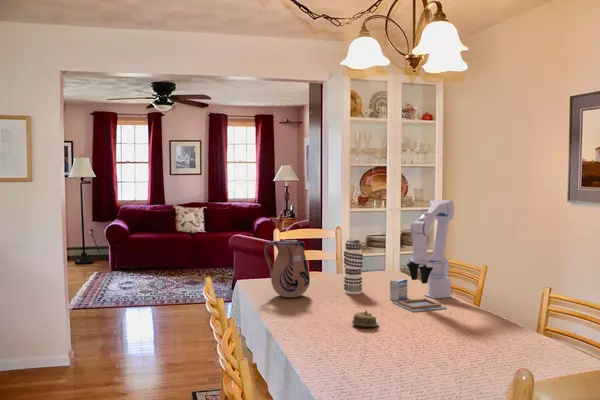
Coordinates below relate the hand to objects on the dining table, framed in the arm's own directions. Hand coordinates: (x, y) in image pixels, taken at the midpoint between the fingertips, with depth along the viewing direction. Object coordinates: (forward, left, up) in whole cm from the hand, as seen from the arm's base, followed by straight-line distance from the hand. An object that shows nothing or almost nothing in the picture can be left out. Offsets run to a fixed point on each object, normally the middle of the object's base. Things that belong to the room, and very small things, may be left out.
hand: (419, 281), depth 219 cm
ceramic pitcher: (+47, -37, -11) cm, 60 cm away
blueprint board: (0, 0, -10) cm, 10 cm away
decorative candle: (+15, -33, -11) cm, 38 cm away
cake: (+34, +17, -11) cm, 39 cm away
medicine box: (+2, -14, -11) cm, 17 cm away
